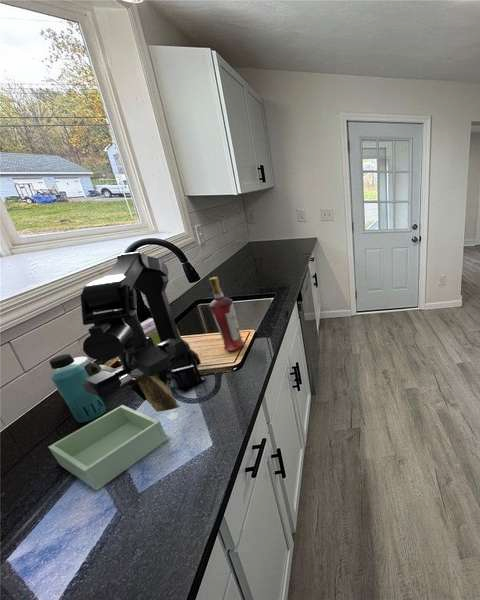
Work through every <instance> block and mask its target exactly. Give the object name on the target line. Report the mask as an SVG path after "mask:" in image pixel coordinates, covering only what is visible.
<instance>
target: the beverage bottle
mask: <svg viewBox="0 0 480 600" xmlns="http://www.w3.org/2000/svg"><path fill="white" fill-rule="evenodd" d="M48 362H49V364H50V367H51V369H52V370H55V371H54V373H53V374H52V375H51V378H50V379H51V381H52V382H53V383H54V386H55V387H56V389H57V388H58V389H57V391H58V390H59V391H58V392H59V394H60V393H61V394H60V396H61V395H62V396H61V397H62V398H63V400H64V402H65V405H66V406H67V407H68V409H69V411H70V412H71V414H72V416H73V418H74V419H75V421H76V422H78V423H87V422H91V421H94V420H96V419H98V418H100V417H101V416H103V415H104V413H105V412H106V409H107V406H106V404H105V401H104V400H103V397H98V396H96V395H93V394H91V393H88V392H86V390H85V388H84V387H83V382H84V380H85V379H87V378H89V375H88V374H87V372H86V370H85V368H84V366H82V365H78V364H72V363H73V362H74V359H73V356H72V355H71V354H70V353H64V354H61V355H58V356H57V355H56V356H55V357H53V358H51V359H50V360H49V361H48ZM70 364H72V365H70ZM59 368H60V369H59ZM57 369H58V370H57Z"/></svg>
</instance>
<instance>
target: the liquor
mask: <svg viewBox="0 0 480 600" xmlns="http://www.w3.org/2000/svg"><path fill="white" fill-rule="evenodd" d="M208 280H209V284H210V285H211V287H212V291H213V297H214V299H213V300H212V301H211V302H210V303H209V309H210V311H211V313H212V316H213V318H214V319H213V320H214V322H215V324H216V326H217V328H218V331H219V333H220V336H221V339H222V342H223V345H224V347H223V349H224V350H226V351H228V352H236V351H239V350H240V349H241V348H242V347H243V346H244V344H245V342H244V340H243V339H242V335H241V331H240V328H239V323H238V318H237V313H236V310H235V307H234V301H233V298H231V297H225V295H224V293H223V291H222V289H221V286H220V280H219V277H218V276H213V277H212V276H211V277H210V278H208Z"/></svg>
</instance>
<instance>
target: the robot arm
mask: <svg viewBox="0 0 480 600" xmlns="http://www.w3.org/2000/svg"><path fill="white" fill-rule="evenodd" d="M116 259H117V260H116V262H115V263H114V264H113V266H112V267H111V269H110V270H109V271H108V272H107V274H106V275H105V276H104V277H102V278H99V279H95V280H93V281H91V282H90V283H87V285H84V287H83V288H82V291H81V293H80V304H81V317H82V319H81V320H82V325H83V326H89V325H92V326H90V327H89V328H88V329H87V330H88V333H89V336H87V337H86V338H85V339H84V341H83V343H82V351H83V352H84V354H85V355H86V357H89V358H90V359H93V360H95V361H101V362H104V361H105V362H106V361H111V360H113V359H116V358H118V359H117V362H118V364H119V365H121V366H122V367H120V368H118V369H117V371H115V372H113V373H110V372H107V371H104V370H103V371H101V372H99V373H97V374H95V375H93V376H91V377H89V378H87V379H85V380H84V382H83V387H84V388H85V390H86V392H88V393H91V394H93V395H96V396H98V397H101V398H103V397H105V396H107V395H109V394H111V393H112V392H114V391H116V390H118V389H123V390H124V389H127V390H128V392H131V394H133V395H134V396H136V397H137V398H138V399H140V400H141V401H144V402H145V401H147V400H146V397H145V395H144V393H143V392H142V390H141V388H140V387H139V385H138V380H137V379H136V378H133V375H131V373H133V372H135V371H137V370H140V371H141V372H143V373H144V374H145V375H146V376H153V375H157V377H158V378H159V379H160V380H161V381H162V382H164V384H165V385H166V386H167V379H168V375H170V377H169V379H170V382H171V384H172V388H173V389H175V390H177V391H180V392H183V393H187V392H189V391H190V390H193V388H195V387H197V386H198V385H199V384H201V383H203V382H204V381H205V380H206V379H205V378H204V377H201V373H200V371H199V368H198V366H200V365H201V364H202V362H201V360H200V357H199V355H198V353H197V352H195V351H194V349H191V346H190V344H189V343H188V342H187V341H186V340H185V339H183V338H182V337H181V338H182V339H181V338H180V336H181V335H180V336H179V334H180V332H179V333H178V331H179V329H178V326H177V324H176V321H175V318H174V314H173V312H172V308H171V305H170V302H169V299H168V296H167V293H166V289H167V286H168V284H169V281H170V279H169V268H168V266H167V265H166V263H165V262H164V261H163V260H162V259H160V258H157V257H153V256H150V255H148V254H146V253H144V252H140V251H135V252H127V253H121V254H119V255H117V258H116ZM137 291H139V292H140V293H141V294H143V296H144V297H145V299H146V302H147V306H148V308H149V312H150V313H151V314H150V315H151V318H153V321H154V323H155V326H156V329H157V332H158V335H159V338H160V341H161V343H160V344H158V345H157V347H156V346H155V345H154V344H153V343H152V341H151V340H150V338H149V337H146V335H145V333H144V331H143V328H142V326H141V324H140V323H141V321H140V319H139V317H138V315H137V312H136V311H137V310H138V307H137V306H138V305H137V304H138V301H137V300H138V299H137V298H138V297H137ZM176 326H177V327H176ZM177 329H178V330H177Z"/></svg>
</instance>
